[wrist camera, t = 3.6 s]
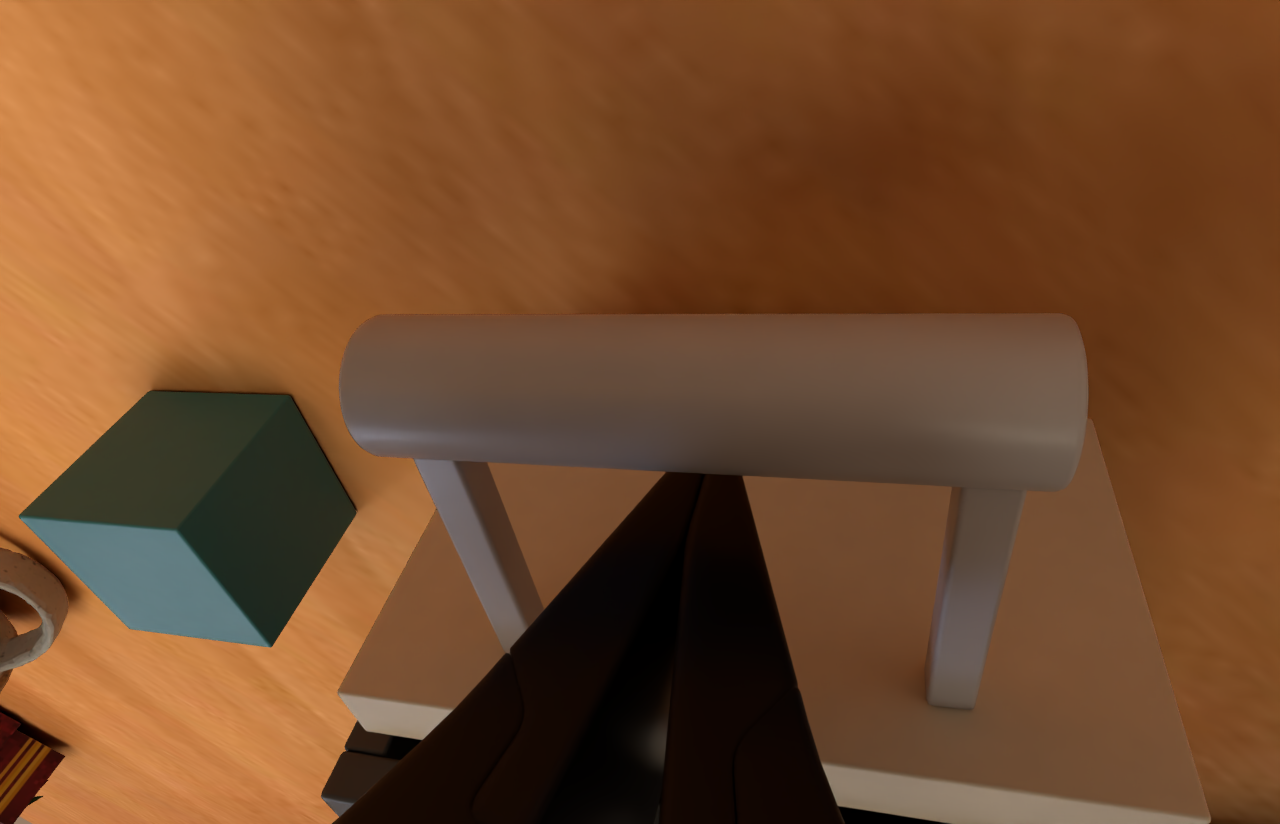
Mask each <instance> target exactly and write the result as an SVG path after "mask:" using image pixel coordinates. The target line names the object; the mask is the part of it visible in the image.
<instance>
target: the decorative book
mask: <svg viewBox="0 0 1280 824" xmlns="http://www.w3.org/2000/svg"><path fill="white" fill-rule="evenodd" d="M20 725H21V723H19V722H17V721H15V720H14V719H12V718H10V717H8V716H6V715H4V714H3V713H1V712H0V824H14V822H15V821H16V820H17V818H18V817H19V816H20V814H21V813H22V812H23V810H24V809H25V808H26V807H27V806H28V805H30V804H31V803H33V802H35V801H36V800H38V799H39V798H41V797H43V796H37V797H34V796H35V795H36V793H37V792H38V791H39V790H40V788H41V787H42V786H43V785H44V784H45V783H46V782H47V781H48V780H47V779H48V778H49V776H50V775H51V774H52V773H53V771H54V770H55V769H56V767H57V766H58V765H59V763H60V762H61V761H62V759H63V758H64V757H65V756H64V755H62V754H60V753H58V752H56V751H54V750H53V749H51V748H49V747H47V746H45V745H43V744H41V743H40V742H38V741H36V740H34V739H32V738H30V737H28V736H27V735H25V734H23V733H21V732H19V731H17V730H16V729H17V728H18V727H19V726H20Z"/></svg>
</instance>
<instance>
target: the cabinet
mask: <svg viewBox="0 0 1280 824" xmlns="http://www.w3.org/2000/svg"><path fill="white" fill-rule="evenodd" d="M421 741H422V740H420V739H413V738H407V737H401V736H394V735H388V734H382V733H375V732H369V731H366V730H365V729H364V728H363V727H362V725H361V724H360V723H359V721H358V720H357V722H356V724H355V726H354V728H353V730H352V732H351V734H350V736H349V738H348V740H347V742H346V744H345V750H346V751H345V752H343V753H342V754H341V755H340V757H339V759H338V761H337V763H336V765H335V767H334V769H333V771H332V773H331V775H330V777H329V779H328V781H327V783H326V785H325V787H324V789H323V791H322V795H321V798H322V799H323V800H324V801H325V802H326V803H327V804H328V805H329V806H330V808H331V809H332V810H333V811H334V812H335V813H336V814H337V815H338V816H339V817H340V816H341V815H342V814H343V813H344V812H345V811H346V810H347V809H349V808H350V807H351V806H352V805H353V804H354V803H355V802H356V801H357V800H358V799H359V798H360V797H361V796H363V795H364V794H365V793H366V792H367V791H368V790H369V789H370V788H371V787H372V786H373V785H374V784H376V783H377V782H378V781H379V780H380V779H381V778H382V777H383V776H384V775H385V774H386V773H387V772H388V771H390V770H391V769H392V768H393V767H394V766H395V765H396V764H397V763H398V762H399V761H400V760H401V759H402V758H404V757H405V756H406V755H407V754H408V753H409V752H410V751H411V750H412V749H413V748H414V747H415V746H416V745H418V744H419V743H420V742H421ZM659 814H660V803H659V804H658V808H657V812H656V816H655V821H654V824H659Z"/></svg>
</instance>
